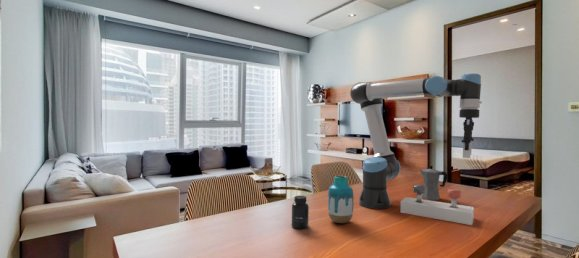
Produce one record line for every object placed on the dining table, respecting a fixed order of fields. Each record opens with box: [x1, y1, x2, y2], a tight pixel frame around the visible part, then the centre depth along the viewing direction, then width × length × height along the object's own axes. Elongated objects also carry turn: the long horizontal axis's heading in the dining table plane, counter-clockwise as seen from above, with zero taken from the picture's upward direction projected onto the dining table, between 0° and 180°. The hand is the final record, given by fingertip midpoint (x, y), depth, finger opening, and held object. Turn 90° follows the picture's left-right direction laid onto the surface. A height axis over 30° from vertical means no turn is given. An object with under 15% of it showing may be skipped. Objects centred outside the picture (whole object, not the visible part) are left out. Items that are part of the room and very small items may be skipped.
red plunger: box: [447, 188, 462, 209], centre depth 122 cm, size 5×5×8 cm
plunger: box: [412, 184, 425, 203], centre depth 131 cm, size 5×5×8 cm
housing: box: [400, 196, 475, 226], centre depth 127 cm, size 28×10×5 cm, turn 54°
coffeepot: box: [419, 165, 449, 201], centre depth 154 cm, size 15×9×18 cm, turn 37°
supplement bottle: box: [291, 195, 310, 230], centre depth 113 cm, size 7×7×12 cm
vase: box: [327, 175, 354, 224], centre depth 118 cm, size 11×11×19 cm
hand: (467, 156), depth 127 cm, fingers open, 13 cm apart
